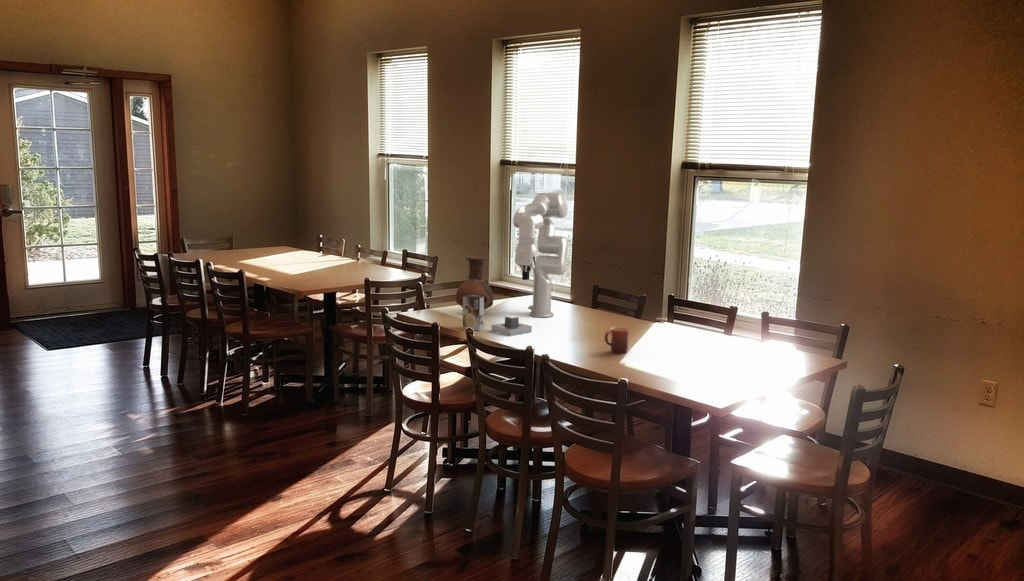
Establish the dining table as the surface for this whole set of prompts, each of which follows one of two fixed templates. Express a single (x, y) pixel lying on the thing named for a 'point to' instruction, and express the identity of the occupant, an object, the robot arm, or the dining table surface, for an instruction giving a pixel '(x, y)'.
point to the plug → (511, 321)
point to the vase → (475, 283)
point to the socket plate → (511, 329)
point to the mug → (618, 339)
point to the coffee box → (473, 312)
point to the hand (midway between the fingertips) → (525, 279)
